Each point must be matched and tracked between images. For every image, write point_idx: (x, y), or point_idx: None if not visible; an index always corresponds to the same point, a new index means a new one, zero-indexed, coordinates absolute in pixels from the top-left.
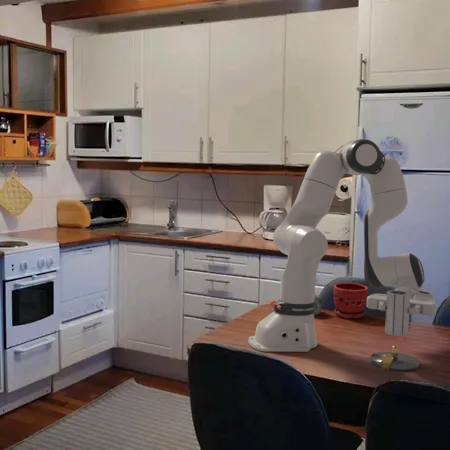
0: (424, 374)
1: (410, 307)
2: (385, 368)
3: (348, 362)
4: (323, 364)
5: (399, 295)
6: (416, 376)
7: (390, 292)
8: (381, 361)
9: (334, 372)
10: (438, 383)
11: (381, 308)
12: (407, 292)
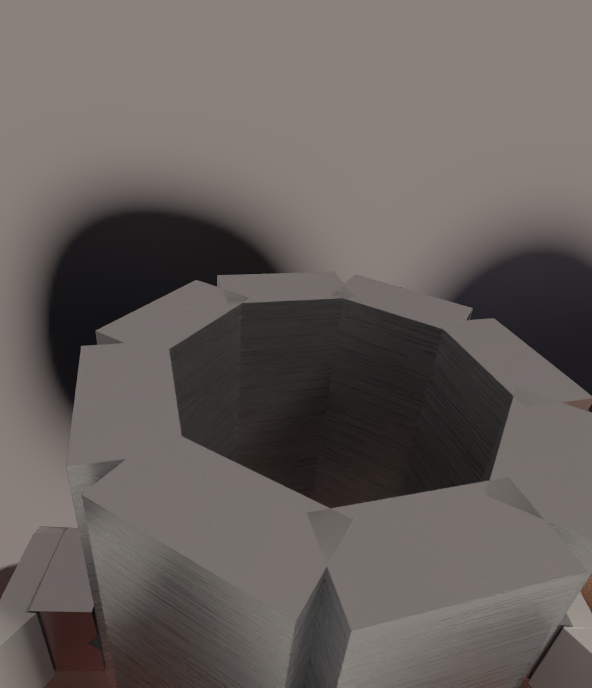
0: (56, 683)
1: (88, 587)
2: None
3: (526, 683)
4: (589, 580)
5: (276, 280)
6: None
7: (470, 345)
8: None
9: None
10: (13, 566)
11: None
12: (124, 441)
